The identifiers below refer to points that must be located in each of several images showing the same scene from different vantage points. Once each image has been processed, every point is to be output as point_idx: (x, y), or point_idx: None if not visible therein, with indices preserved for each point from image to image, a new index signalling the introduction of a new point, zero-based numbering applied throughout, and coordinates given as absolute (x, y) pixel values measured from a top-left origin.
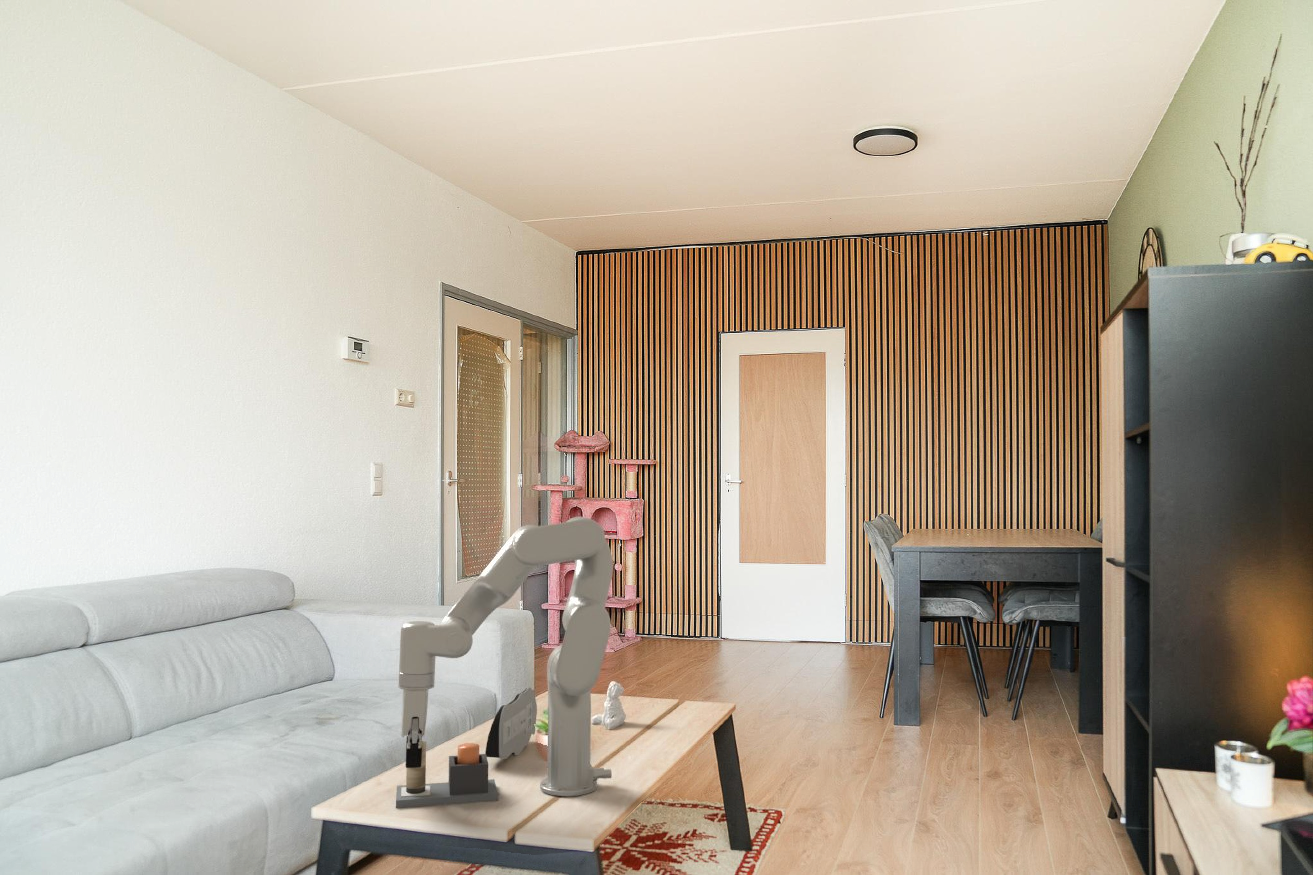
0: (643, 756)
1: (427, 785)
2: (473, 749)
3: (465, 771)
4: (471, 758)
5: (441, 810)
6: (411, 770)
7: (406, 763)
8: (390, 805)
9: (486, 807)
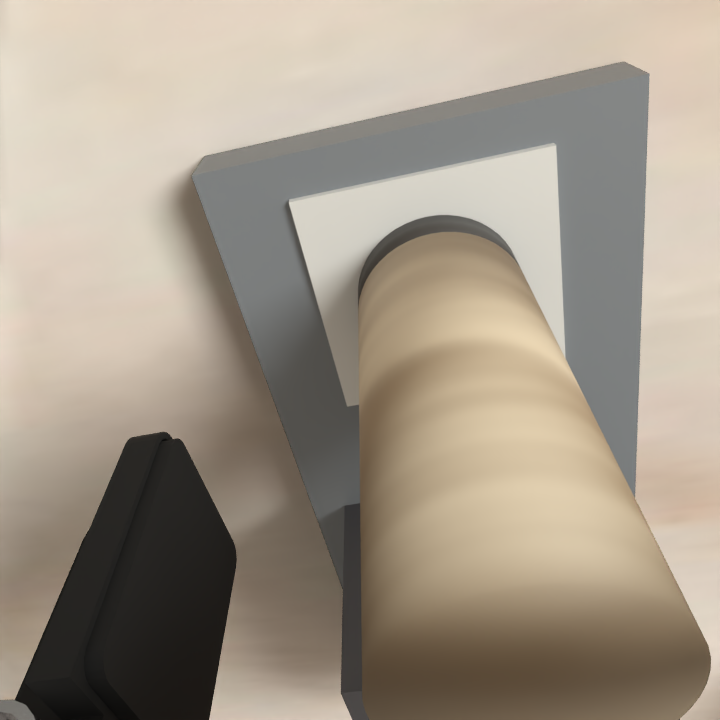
0: None
1: (592, 342)
2: None
3: None
4: None
5: (196, 454)
6: (362, 391)
7: (120, 477)
8: (265, 90)
9: (270, 619)
